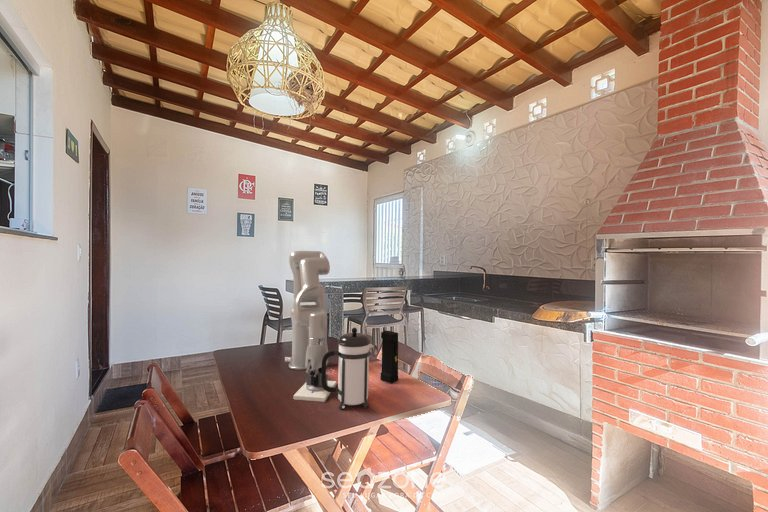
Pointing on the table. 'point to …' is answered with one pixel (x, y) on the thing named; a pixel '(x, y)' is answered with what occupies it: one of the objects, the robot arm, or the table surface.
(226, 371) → the table surface
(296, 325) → the robot arm
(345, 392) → the coffee press
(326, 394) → the dial panel
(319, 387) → the dial
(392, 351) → the portable radio
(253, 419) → the table surface
